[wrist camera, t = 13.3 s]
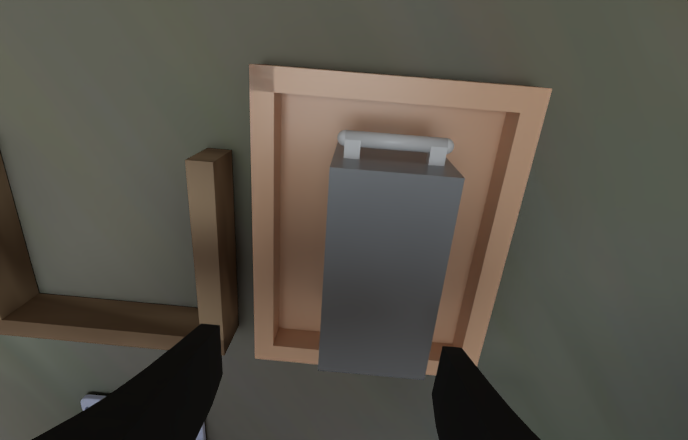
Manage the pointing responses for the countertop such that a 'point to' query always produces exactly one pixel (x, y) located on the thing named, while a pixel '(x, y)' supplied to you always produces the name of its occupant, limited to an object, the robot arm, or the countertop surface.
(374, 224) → the caddy
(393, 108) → the tray
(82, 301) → the bay
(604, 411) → the countertop surface
